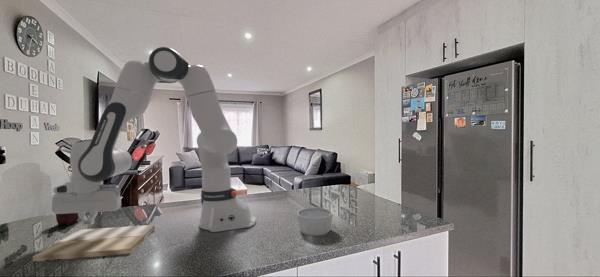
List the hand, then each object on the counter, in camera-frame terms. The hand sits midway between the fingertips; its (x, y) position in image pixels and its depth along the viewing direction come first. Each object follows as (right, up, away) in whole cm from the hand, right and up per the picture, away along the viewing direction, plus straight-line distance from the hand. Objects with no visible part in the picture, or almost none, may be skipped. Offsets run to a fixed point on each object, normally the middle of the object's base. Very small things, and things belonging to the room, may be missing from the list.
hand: (88, 224), depth 93 cm
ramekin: (+80, -4, +6) cm, 81 cm away
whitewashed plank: (+7, -5, +1) cm, 9 cm away
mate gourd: (-20, -5, +15) cm, 25 cm away
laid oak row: (+9, -5, -9) cm, 14 cm away
